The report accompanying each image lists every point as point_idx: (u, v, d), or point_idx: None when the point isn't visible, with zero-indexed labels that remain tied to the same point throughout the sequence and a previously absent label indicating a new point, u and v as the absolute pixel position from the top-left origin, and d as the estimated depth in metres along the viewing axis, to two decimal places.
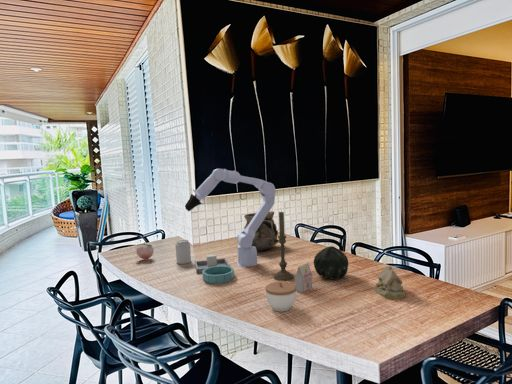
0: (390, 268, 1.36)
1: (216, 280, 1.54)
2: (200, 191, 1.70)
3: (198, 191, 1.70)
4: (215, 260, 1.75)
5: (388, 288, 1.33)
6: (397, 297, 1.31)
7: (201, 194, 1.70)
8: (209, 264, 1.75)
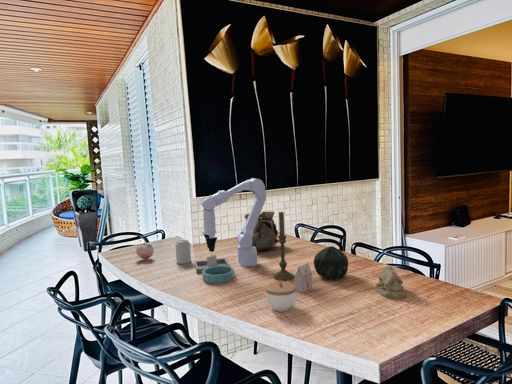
0: (390, 268, 1.36)
1: (216, 280, 1.54)
2: (207, 229, 1.72)
3: (206, 230, 1.73)
4: (215, 260, 1.75)
5: (389, 288, 1.33)
6: (398, 297, 1.31)
7: (210, 230, 1.73)
8: (209, 264, 1.75)
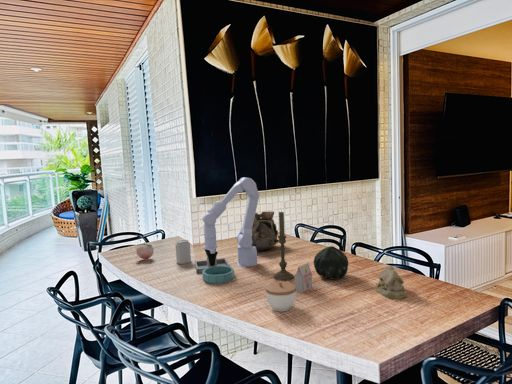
0: (391, 268, 1.36)
1: (216, 280, 1.54)
2: (208, 244, 1.73)
3: (207, 245, 1.73)
4: (215, 260, 1.75)
5: (390, 288, 1.33)
6: (399, 297, 1.31)
7: (211, 246, 1.73)
8: (209, 264, 1.75)
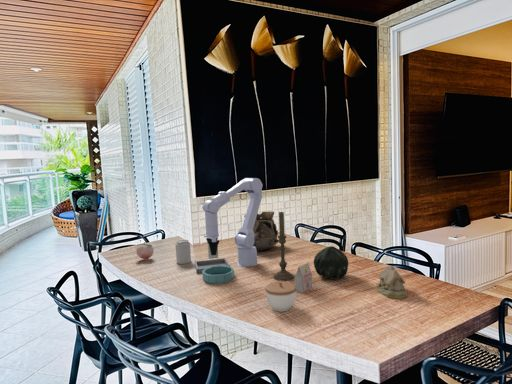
0: (392, 268, 1.37)
1: (216, 280, 1.54)
2: (210, 233, 1.66)
3: (208, 234, 1.67)
4: None
5: (391, 288, 1.33)
6: (400, 296, 1.31)
7: (213, 234, 1.66)
8: (210, 254, 1.68)
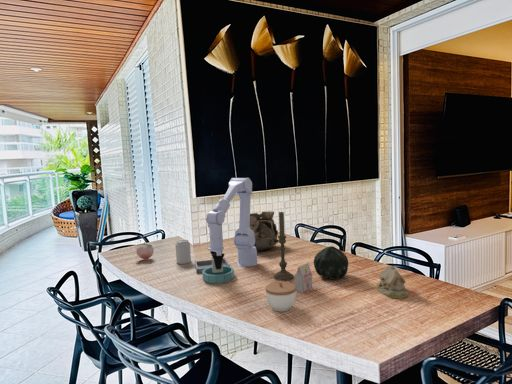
0: (393, 267, 1.37)
1: (216, 280, 1.54)
2: (214, 245, 1.58)
3: (213, 247, 1.58)
4: None
5: (392, 288, 1.34)
6: (401, 296, 1.31)
7: (217, 247, 1.58)
8: (214, 268, 1.59)
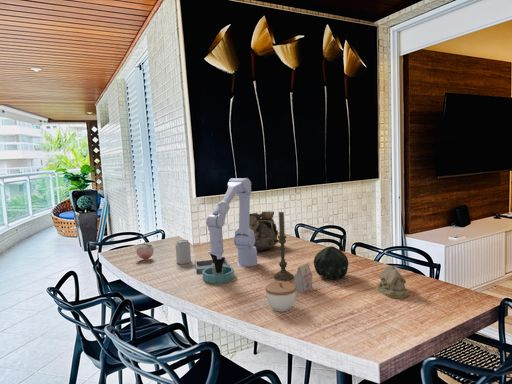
0: (393, 267, 1.37)
1: (216, 280, 1.54)
2: (214, 249, 1.58)
3: (213, 250, 1.58)
4: None
5: (392, 287, 1.34)
6: (402, 296, 1.31)
7: (218, 250, 1.58)
8: (215, 273, 1.59)
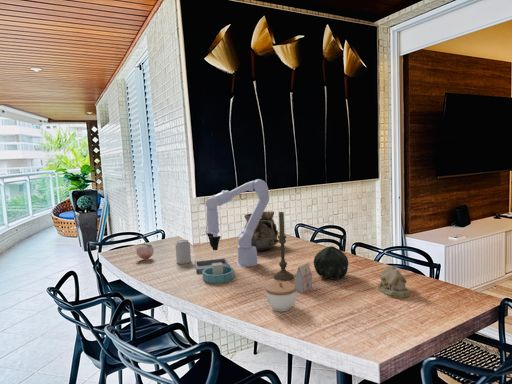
0: (394, 267, 1.37)
1: (216, 280, 1.54)
2: (211, 228, 1.75)
3: (210, 229, 1.75)
4: (221, 269, 1.60)
5: (393, 287, 1.34)
6: (403, 296, 1.31)
7: (214, 229, 1.75)
8: (215, 274, 1.59)
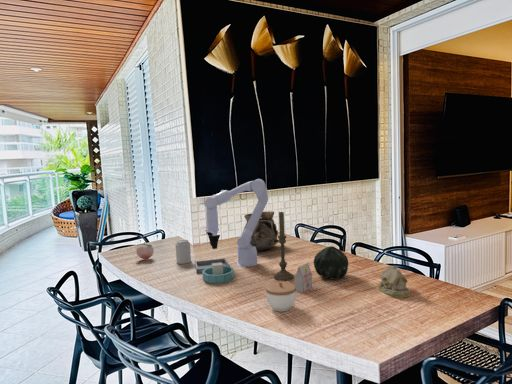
0: (394, 267, 1.37)
1: (216, 280, 1.54)
2: (210, 227, 1.78)
3: (209, 228, 1.78)
4: (221, 269, 1.60)
5: (394, 287, 1.34)
6: (404, 296, 1.32)
7: (213, 228, 1.78)
8: (215, 274, 1.59)
